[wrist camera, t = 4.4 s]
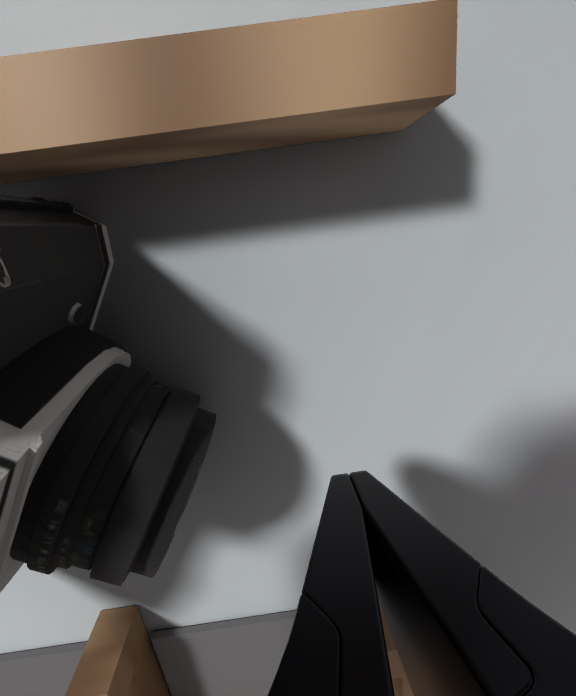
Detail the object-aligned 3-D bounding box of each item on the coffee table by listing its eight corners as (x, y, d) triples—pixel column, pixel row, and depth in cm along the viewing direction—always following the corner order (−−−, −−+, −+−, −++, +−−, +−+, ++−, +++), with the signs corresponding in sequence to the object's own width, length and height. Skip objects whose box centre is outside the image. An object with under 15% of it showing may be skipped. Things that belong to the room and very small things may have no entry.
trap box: (399, 65, 9) (457, -3, 7) (414, 692, 18) (441, 779, 15) (-521, 185, 9) (-871, 169, 6) (-63, 765, 18) (-126, 868, 15)
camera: (148, 578, 15) (8, 1034, 6) (-63, 532, 13) (-629, 1045, 5) (262, 277, 12) (295, 346, 4) (15, 179, 11) (-948, -113, 2)
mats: (360, 600, 16) (362, 607, 15) (367, 677, 17) (369, 685, 17) (-95, 668, 15) (-101, 677, 15) (-43, 740, 17) (-48, 749, 17)
